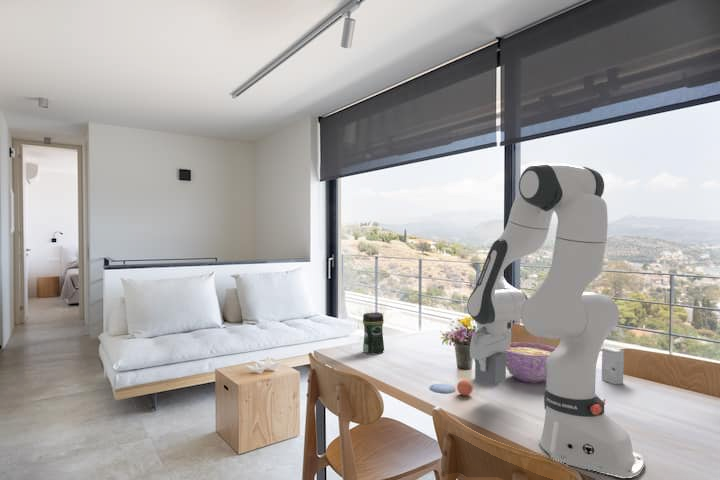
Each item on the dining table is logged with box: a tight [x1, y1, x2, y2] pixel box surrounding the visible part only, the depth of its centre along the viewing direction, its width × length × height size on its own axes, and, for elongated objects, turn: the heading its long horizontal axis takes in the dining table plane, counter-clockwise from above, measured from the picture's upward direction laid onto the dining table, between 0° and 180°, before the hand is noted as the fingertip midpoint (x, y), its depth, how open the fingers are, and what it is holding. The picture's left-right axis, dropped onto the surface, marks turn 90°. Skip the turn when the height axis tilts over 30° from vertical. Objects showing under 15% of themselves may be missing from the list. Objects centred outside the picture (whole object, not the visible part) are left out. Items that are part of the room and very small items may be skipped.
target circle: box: [429, 383, 457, 394], centre depth 152 cm, size 9×9×1 cm
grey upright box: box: [474, 352, 507, 386], centre depth 139 cm, size 7×7×9 cm
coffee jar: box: [362, 312, 385, 354], centre depth 202 cm, size 10×8×19 cm
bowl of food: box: [503, 341, 556, 384], centre depth 162 cm, size 20×20×12 cm
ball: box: [456, 379, 473, 396], centre depth 145 cm, size 5×5×5 cm
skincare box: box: [601, 346, 625, 385], centre depth 159 cm, size 6×4×12 cm
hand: (490, 367), depth 139 cm, fingers closed on grey upright box, 7 cm apart
